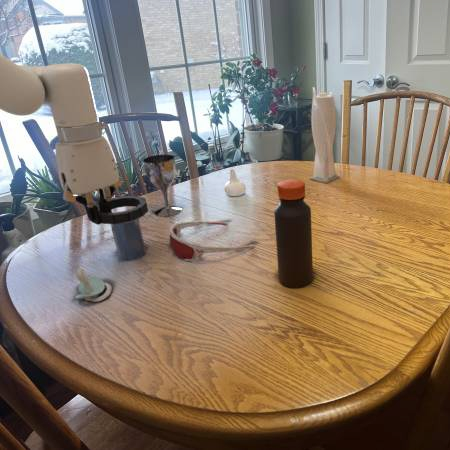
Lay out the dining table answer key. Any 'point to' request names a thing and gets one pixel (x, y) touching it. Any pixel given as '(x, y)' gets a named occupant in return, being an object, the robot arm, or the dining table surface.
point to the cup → (129, 240)
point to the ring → (124, 215)
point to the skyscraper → (323, 136)
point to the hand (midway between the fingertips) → (101, 220)
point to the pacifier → (91, 286)
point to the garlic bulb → (234, 185)
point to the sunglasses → (191, 250)
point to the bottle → (293, 235)
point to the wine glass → (162, 179)
